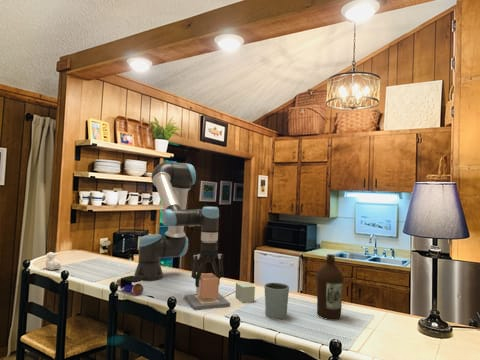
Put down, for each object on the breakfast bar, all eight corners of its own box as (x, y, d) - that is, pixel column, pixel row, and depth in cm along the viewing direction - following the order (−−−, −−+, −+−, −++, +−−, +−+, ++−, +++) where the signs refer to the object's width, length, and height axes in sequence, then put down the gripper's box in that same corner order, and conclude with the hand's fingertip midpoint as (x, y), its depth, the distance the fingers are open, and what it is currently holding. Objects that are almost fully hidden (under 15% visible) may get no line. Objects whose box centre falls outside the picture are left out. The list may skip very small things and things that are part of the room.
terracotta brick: (196, 291, 155) (197, 273, 155) (210, 290, 158) (211, 273, 158) (202, 298, 146) (203, 279, 146) (218, 297, 149) (219, 278, 149)
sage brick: (235, 297, 160) (235, 282, 161) (246, 296, 163) (247, 281, 163) (242, 303, 153) (242, 287, 153) (254, 301, 155) (254, 286, 156)
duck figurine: (45, 271, 201) (34, 258, 196) (56, 262, 207) (45, 248, 201) (58, 275, 195) (47, 261, 190) (68, 265, 201) (57, 251, 195)
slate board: (184, 298, 156) (184, 294, 156) (217, 295, 162) (217, 291, 162) (193, 310, 141) (194, 306, 141) (230, 306, 148) (230, 302, 148)
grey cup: (271, 321, 132) (273, 290, 133) (258, 312, 141) (259, 283, 142) (293, 318, 137) (294, 287, 138) (279, 309, 146) (280, 281, 146)
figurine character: (115, 293, 164) (134, 296, 154) (115, 277, 164) (134, 279, 155) (127, 290, 169) (146, 293, 160) (127, 274, 170) (146, 277, 161)
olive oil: (311, 311, 145) (313, 252, 146) (334, 310, 148) (336, 252, 148) (322, 321, 135) (325, 257, 136) (347, 320, 137) (349, 257, 138)
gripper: (189, 243, 145) (187, 298, 144) (233, 242, 153) (231, 294, 152) (185, 240, 152) (182, 292, 151) (227, 239, 160) (225, 289, 159)
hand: (207, 293), depth 152 cm, fingers closed on terracotta brick, 7 cm apart
